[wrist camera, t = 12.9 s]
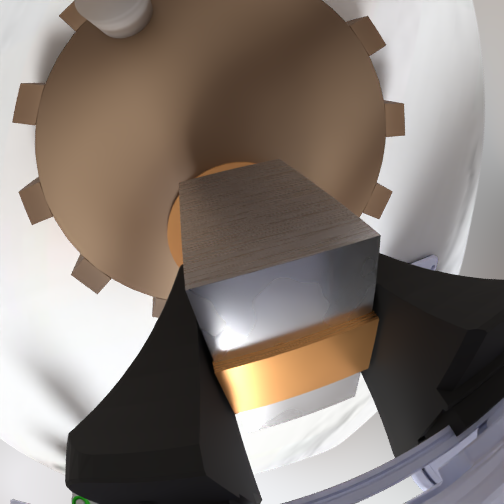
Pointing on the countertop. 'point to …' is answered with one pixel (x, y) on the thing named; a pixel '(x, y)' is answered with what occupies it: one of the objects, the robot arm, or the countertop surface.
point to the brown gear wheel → (196, 120)
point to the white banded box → (279, 289)
